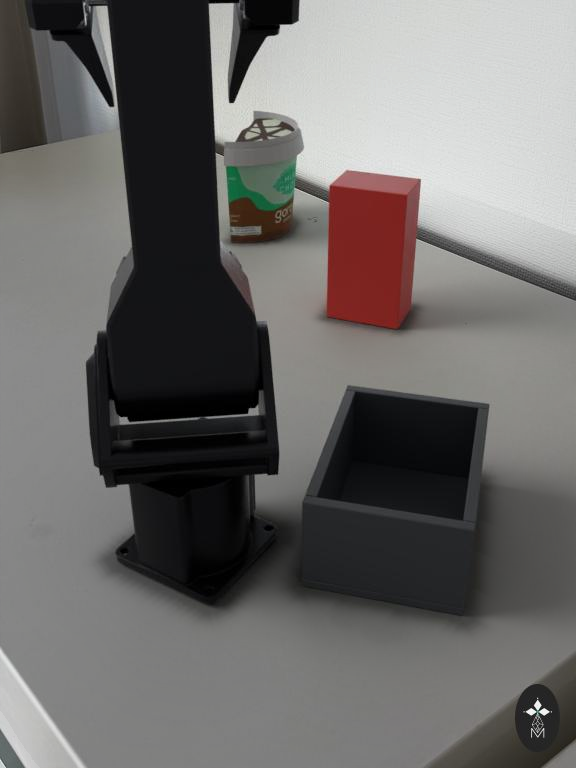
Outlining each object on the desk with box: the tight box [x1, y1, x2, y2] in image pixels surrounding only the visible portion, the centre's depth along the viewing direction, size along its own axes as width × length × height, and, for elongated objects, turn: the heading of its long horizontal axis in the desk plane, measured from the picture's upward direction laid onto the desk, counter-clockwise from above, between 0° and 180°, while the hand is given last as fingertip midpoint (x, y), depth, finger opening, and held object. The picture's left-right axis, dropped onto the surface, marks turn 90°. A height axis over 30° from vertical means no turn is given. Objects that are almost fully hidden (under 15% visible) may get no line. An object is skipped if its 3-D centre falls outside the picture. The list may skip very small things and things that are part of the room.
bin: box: [301, 384, 490, 616], centre depth 47 cm, size 11×8×6 cm
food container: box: [223, 110, 305, 244], centre depth 85 cm, size 12×6×10 cm, turn 168°
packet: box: [326, 169, 422, 330], centre depth 68 cm, size 4×6×11 cm, turn 68°
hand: (172, 102), depth 68 cm, fingers open, 9 cm apart
